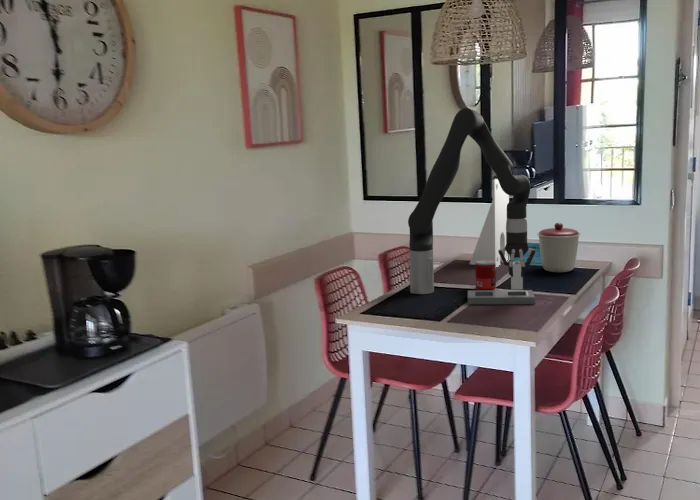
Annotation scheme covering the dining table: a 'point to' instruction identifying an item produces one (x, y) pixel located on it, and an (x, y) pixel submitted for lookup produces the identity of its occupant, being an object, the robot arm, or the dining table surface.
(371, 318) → the dining table surface
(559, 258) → the canister
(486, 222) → the white bracket plate
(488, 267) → the canned food
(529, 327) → the dining table surface
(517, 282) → the plug
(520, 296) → the panel
